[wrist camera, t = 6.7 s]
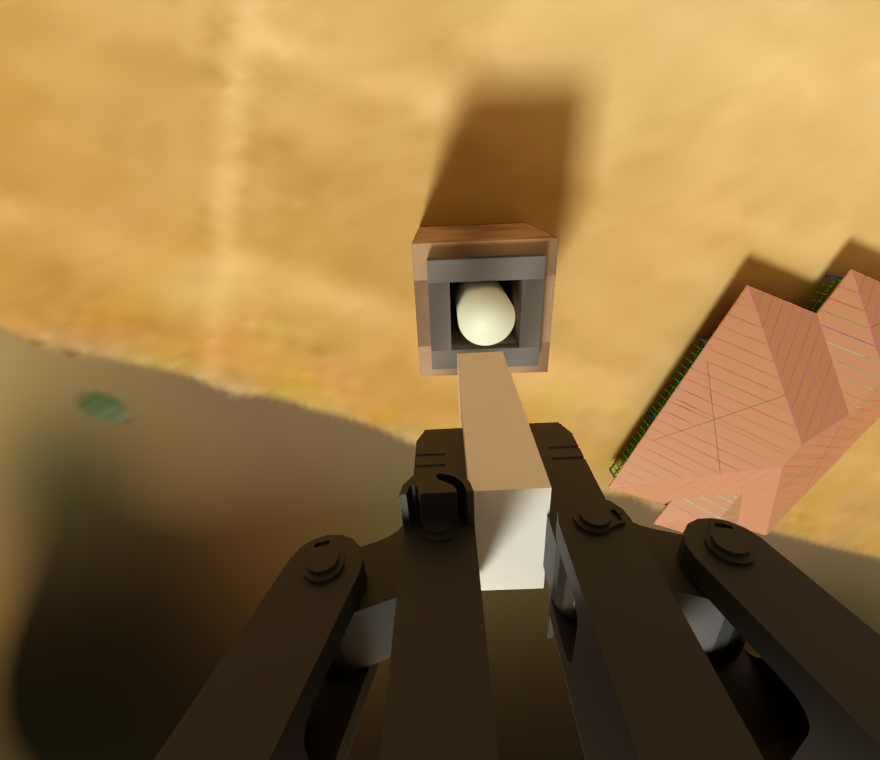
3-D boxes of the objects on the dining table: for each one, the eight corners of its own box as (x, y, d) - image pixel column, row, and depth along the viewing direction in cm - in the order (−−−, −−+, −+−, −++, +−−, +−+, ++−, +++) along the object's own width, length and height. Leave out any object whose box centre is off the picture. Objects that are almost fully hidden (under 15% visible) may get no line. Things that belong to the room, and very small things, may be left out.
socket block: (525, 222, 38) (562, 239, 27) (520, 324, 43) (550, 377, 31) (419, 226, 39) (410, 246, 27) (425, 327, 43) (419, 381, 31)
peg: (494, 259, 38) (516, 289, 28) (493, 301, 40) (514, 344, 29) (452, 261, 38) (457, 291, 28) (453, 302, 40) (458, 346, 29)
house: (588, 486, 53) (612, 535, 46) (754, 233, 39) (826, 245, 32) (735, 530, 56) (779, 582, 49) (934, 311, 43) (1036, 338, 36)
